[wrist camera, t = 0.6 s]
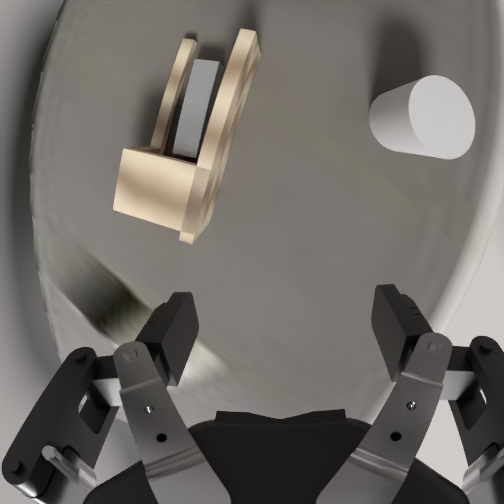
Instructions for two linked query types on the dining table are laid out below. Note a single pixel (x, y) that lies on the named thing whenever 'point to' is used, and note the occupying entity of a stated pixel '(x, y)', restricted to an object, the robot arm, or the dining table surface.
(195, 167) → the bridge channel
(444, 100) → the cup
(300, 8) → the dining table surface
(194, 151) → the grey long rectangular bar
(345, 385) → the dining table surface
